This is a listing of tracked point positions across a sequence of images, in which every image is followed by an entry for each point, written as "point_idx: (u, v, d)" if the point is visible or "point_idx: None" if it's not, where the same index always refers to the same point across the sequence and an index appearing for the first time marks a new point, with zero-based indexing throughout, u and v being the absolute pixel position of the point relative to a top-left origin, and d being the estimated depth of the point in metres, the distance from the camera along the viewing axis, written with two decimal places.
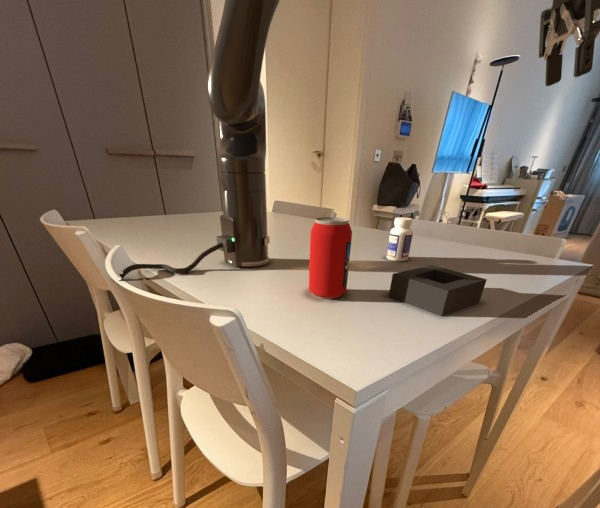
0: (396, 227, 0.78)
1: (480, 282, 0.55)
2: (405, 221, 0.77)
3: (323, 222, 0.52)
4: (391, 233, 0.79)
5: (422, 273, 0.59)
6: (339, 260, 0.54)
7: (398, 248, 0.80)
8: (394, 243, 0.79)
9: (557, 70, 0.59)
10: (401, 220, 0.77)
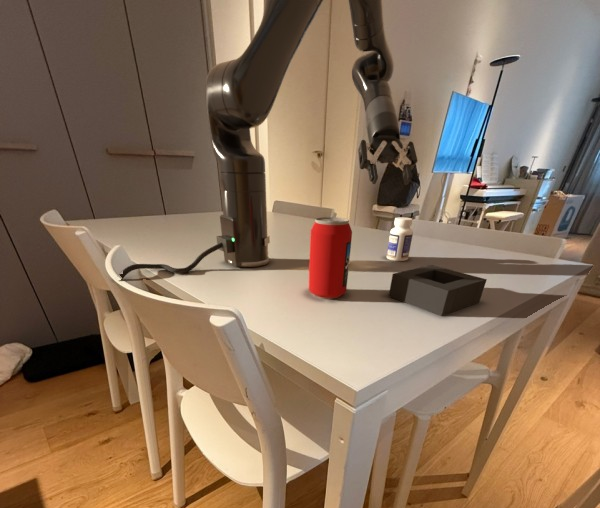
0: (396, 227, 0.78)
1: (480, 282, 0.55)
2: (405, 221, 0.77)
3: (323, 222, 0.52)
4: (391, 233, 0.79)
5: (422, 273, 0.59)
6: (339, 260, 0.54)
7: (398, 248, 0.80)
8: (394, 243, 0.79)
9: None
10: (401, 220, 0.77)
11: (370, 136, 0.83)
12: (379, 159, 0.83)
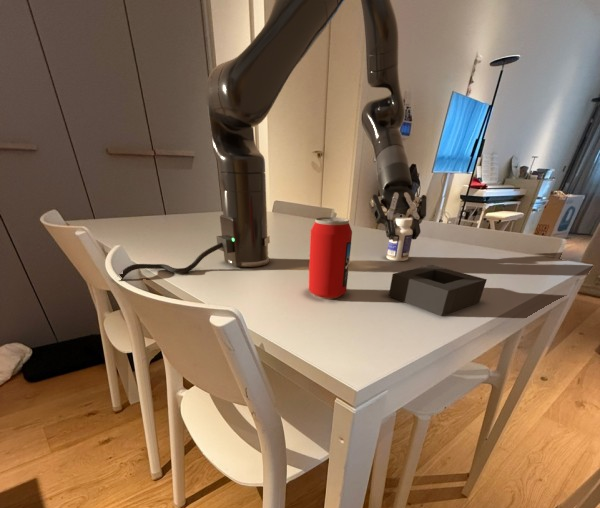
0: (396, 227, 0.78)
1: (480, 282, 0.55)
2: (405, 221, 0.77)
3: (323, 222, 0.52)
4: None
5: (422, 273, 0.59)
6: (339, 260, 0.54)
7: (398, 248, 0.80)
8: (394, 243, 0.79)
9: None
10: (401, 220, 0.77)
11: (381, 186, 0.80)
12: (393, 211, 0.80)
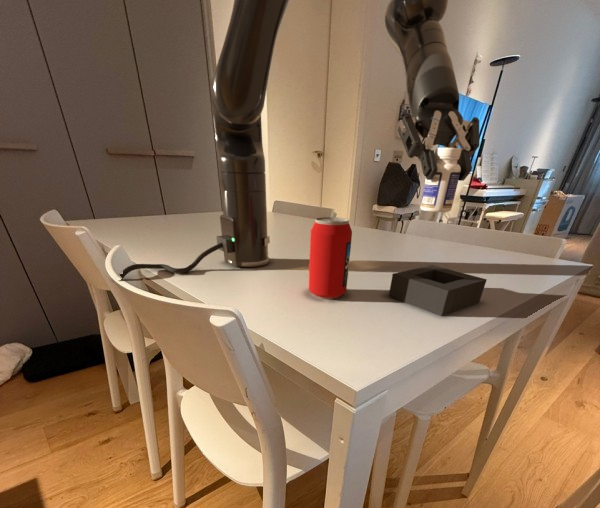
0: (437, 161, 0.55)
1: (480, 282, 0.55)
2: (452, 150, 0.53)
3: (323, 222, 0.52)
4: None
5: (422, 273, 0.59)
6: (339, 260, 0.54)
7: (439, 193, 0.56)
8: (434, 185, 0.56)
9: None
10: (446, 149, 0.53)
11: (415, 104, 0.56)
12: None
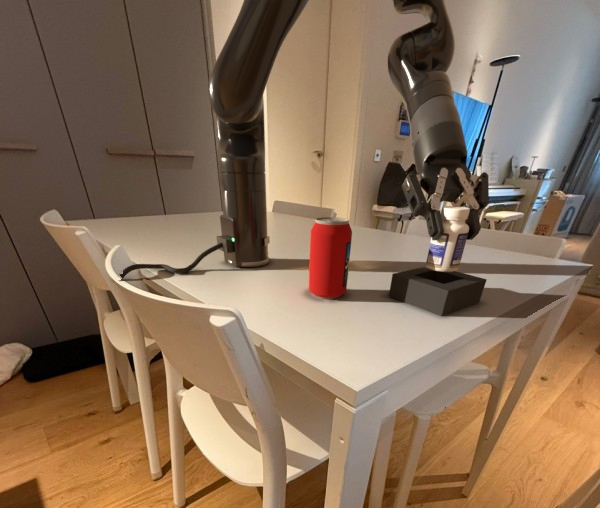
0: (444, 221, 0.51)
1: (480, 282, 0.55)
2: (460, 212, 0.50)
3: (323, 222, 0.52)
4: None
5: (422, 273, 0.59)
6: (339, 260, 0.54)
7: (446, 253, 0.53)
8: (440, 245, 0.52)
9: None
10: (453, 210, 0.50)
11: (420, 159, 0.53)
12: None
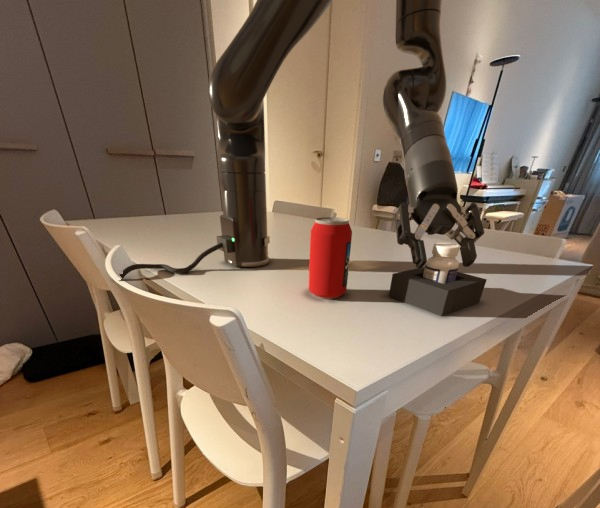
0: (435, 257, 0.55)
1: (480, 282, 0.55)
2: (450, 250, 0.53)
3: (323, 222, 0.52)
4: (428, 266, 0.55)
5: (422, 273, 0.59)
6: (339, 260, 0.54)
7: None
8: (432, 279, 0.55)
9: None
10: (444, 248, 0.53)
11: (413, 194, 0.56)
12: (427, 230, 0.55)
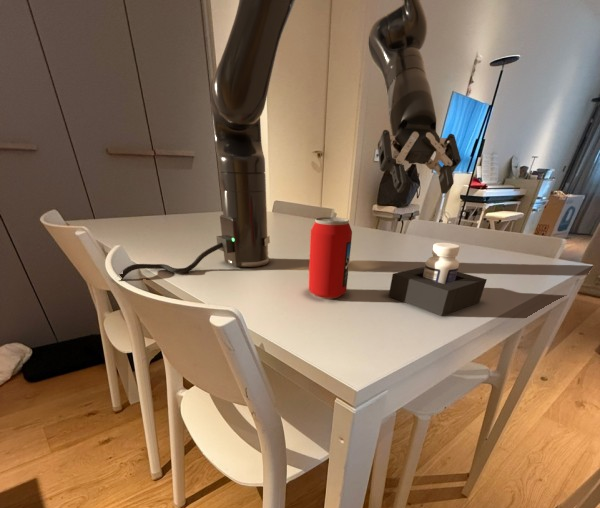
0: (435, 257, 0.55)
1: (480, 282, 0.55)
2: (450, 250, 0.53)
3: (323, 222, 0.52)
4: (428, 266, 0.55)
5: (422, 273, 0.59)
6: (339, 260, 0.54)
7: None
8: (432, 279, 0.55)
9: None
10: (444, 248, 0.53)
11: (395, 125, 0.59)
12: (407, 158, 0.59)
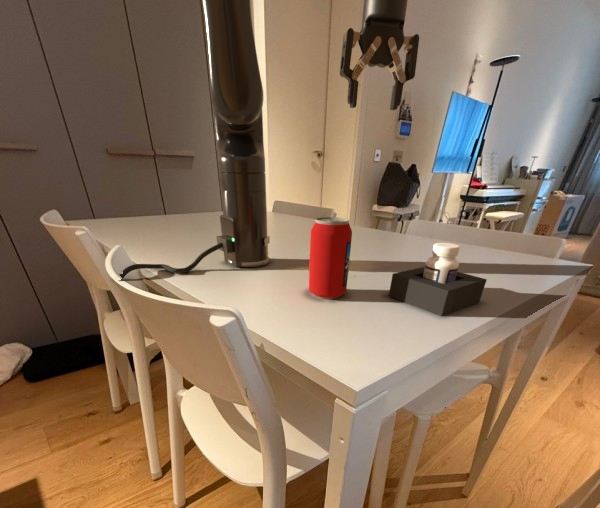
0: (435, 257, 0.55)
1: (480, 282, 0.55)
2: (450, 250, 0.53)
3: (323, 222, 0.52)
4: (428, 266, 0.55)
5: (422, 273, 0.59)
6: (339, 260, 0.54)
7: None
8: (432, 279, 0.55)
9: None
10: (444, 248, 0.53)
11: (364, 13, 0.59)
12: (367, 63, 0.63)
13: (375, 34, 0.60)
